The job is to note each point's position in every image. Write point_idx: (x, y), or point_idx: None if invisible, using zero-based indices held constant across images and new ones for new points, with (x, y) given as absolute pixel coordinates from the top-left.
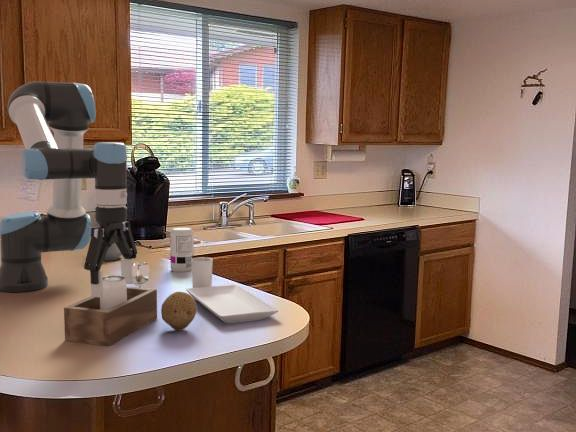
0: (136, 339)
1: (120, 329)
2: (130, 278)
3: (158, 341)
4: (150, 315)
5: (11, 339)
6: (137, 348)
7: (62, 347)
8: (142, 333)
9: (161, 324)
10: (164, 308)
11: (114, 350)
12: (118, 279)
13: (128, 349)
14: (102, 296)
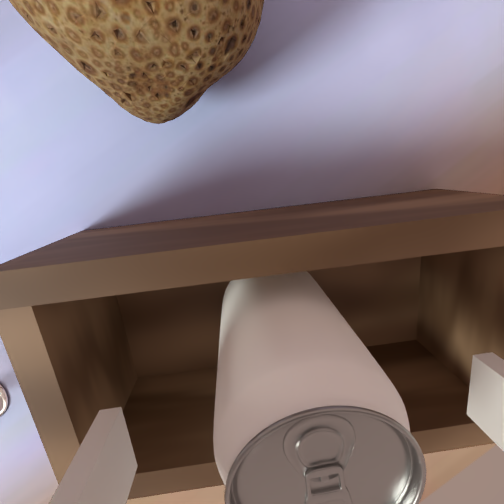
0: (341, 145)
1: (384, 201)
2: (103, 448)
3: (331, 41)
4: (129, 229)
5: (454, 460)
6: (430, 74)
7: None
8: (271, 168)
9: (136, 166)
10: (251, 9)
11: (470, 144)
12: (306, 448)
13: (449, 101)
14: (479, 356)
